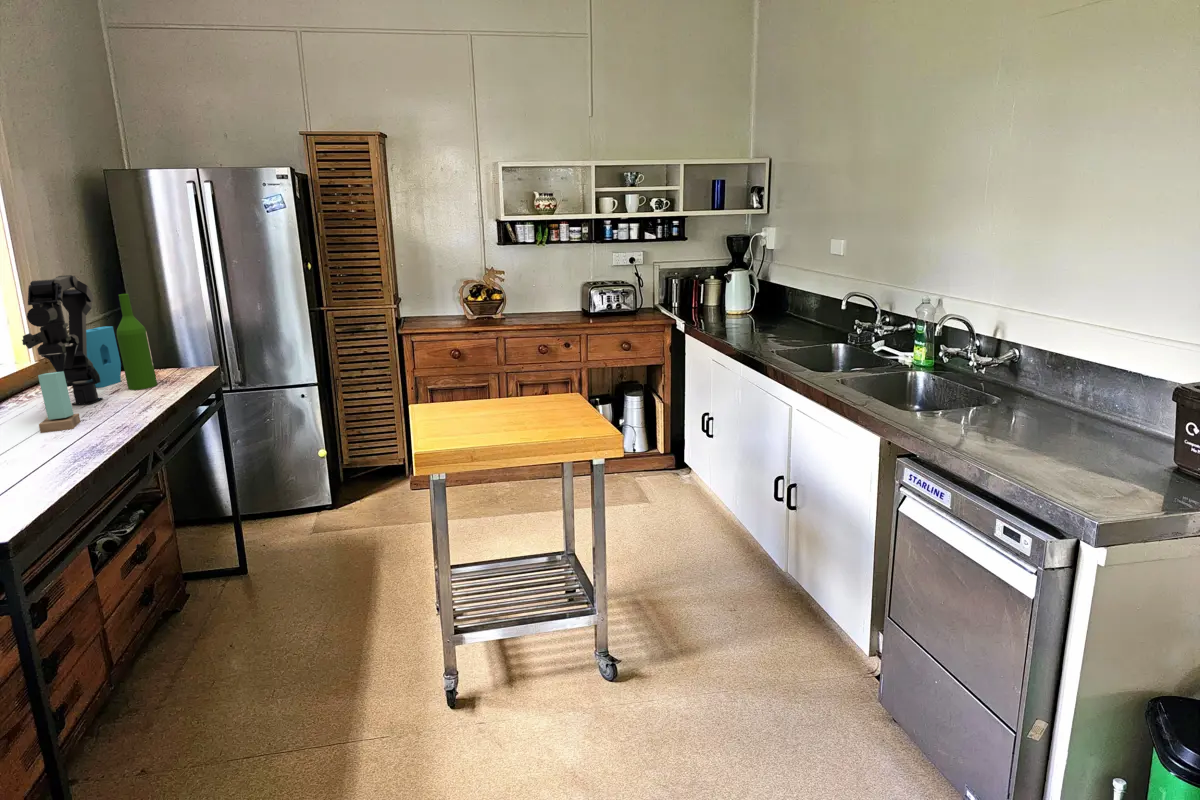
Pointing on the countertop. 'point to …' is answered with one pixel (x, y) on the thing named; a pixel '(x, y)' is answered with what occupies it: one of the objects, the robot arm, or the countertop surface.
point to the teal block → (55, 395)
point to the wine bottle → (135, 349)
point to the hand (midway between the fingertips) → (65, 371)
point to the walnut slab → (59, 424)
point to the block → (104, 355)
